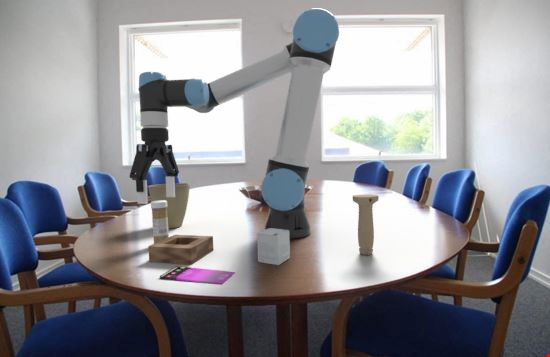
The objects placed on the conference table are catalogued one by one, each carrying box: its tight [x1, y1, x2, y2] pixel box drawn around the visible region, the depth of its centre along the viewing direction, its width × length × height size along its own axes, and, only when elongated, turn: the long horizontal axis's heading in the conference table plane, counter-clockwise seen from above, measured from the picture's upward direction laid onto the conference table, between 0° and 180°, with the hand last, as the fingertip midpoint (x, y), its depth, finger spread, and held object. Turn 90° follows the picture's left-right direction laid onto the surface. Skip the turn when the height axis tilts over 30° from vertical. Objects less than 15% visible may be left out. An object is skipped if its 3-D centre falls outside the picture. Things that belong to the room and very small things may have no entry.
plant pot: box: [147, 182, 191, 230], centre depth 125 cm, size 15×15×16 cm
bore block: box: [148, 234, 214, 266], centre depth 88 cm, size 12×12×4 cm
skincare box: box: [256, 228, 291, 266], centre depth 82 cm, size 6×6×7 cm
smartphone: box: [159, 265, 236, 285], centre depth 73 cm, size 7×15×1 cm, turn 73°
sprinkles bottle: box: [150, 200, 170, 244], centre depth 98 cm, size 5×5×14 cm
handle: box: [352, 193, 379, 256], centre depth 84 cm, size 5×6×15 cm
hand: (157, 200), depth 98 cm, fingers open, 13 cm apart
